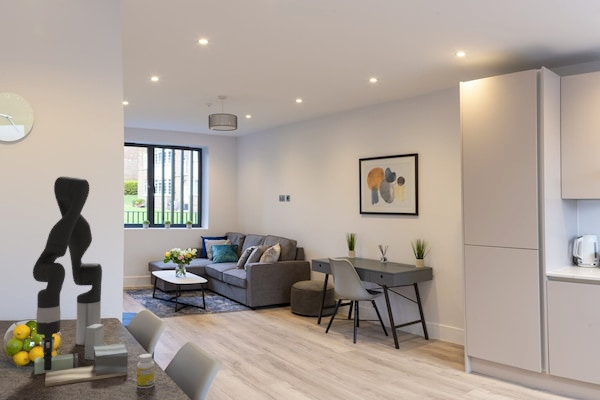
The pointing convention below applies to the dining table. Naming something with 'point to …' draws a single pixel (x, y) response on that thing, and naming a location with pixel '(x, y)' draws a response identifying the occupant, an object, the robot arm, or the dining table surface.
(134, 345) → the dining table surface
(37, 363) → the grey-green rectangular block
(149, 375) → the supplement bottle
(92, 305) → the robot arm
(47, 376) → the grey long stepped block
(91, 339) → the skincare box
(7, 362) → the dining table surface
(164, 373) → the dining table surface
